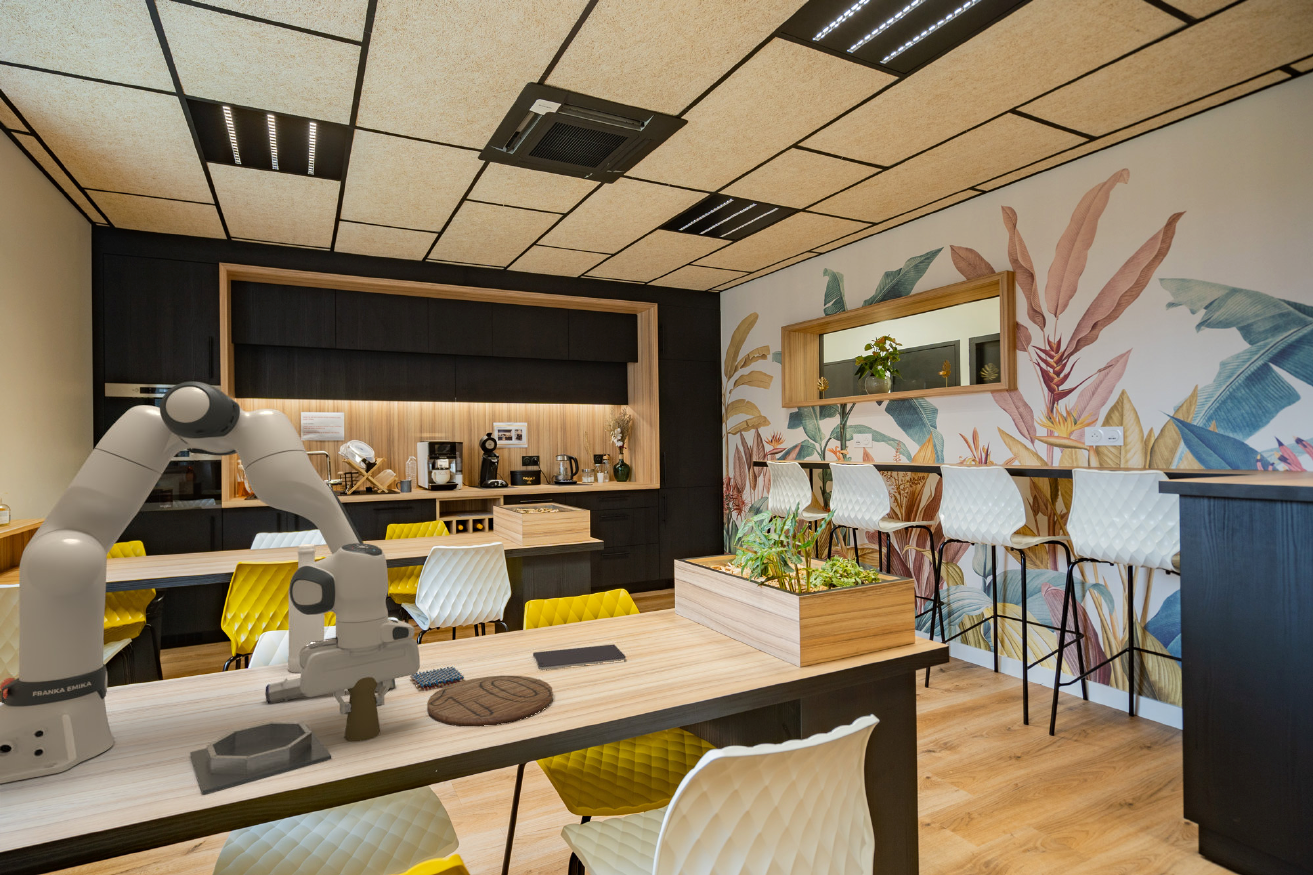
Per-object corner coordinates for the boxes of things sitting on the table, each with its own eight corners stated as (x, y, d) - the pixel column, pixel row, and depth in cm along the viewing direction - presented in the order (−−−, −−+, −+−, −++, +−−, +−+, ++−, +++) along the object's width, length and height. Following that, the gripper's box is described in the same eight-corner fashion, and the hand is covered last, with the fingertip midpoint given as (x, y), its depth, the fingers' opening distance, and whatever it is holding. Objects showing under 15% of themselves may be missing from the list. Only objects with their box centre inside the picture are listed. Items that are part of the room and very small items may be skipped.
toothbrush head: (269, 680, 143) (393, 652, 150) (274, 710, 143) (398, 681, 150) (263, 688, 138) (391, 658, 145) (268, 719, 138) (396, 688, 145)
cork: (343, 744, 118) (343, 681, 118) (344, 731, 123) (344, 671, 124) (380, 737, 120) (380, 676, 121) (380, 725, 126) (379, 667, 126)
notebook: (614, 650, 176) (533, 658, 169) (614, 644, 176) (533, 652, 169) (626, 663, 164) (539, 673, 157) (626, 657, 164) (539, 666, 157)
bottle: (280, 671, 161) (280, 546, 162) (307, 661, 168) (307, 542, 169) (305, 674, 158) (305, 547, 159) (332, 664, 165) (331, 543, 166)
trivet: (471, 740, 120) (471, 729, 120) (404, 707, 136) (404, 697, 137) (577, 701, 138) (577, 692, 138) (507, 676, 155) (507, 668, 155)
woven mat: (454, 673, 159) (453, 664, 159) (467, 685, 150) (467, 676, 150) (408, 681, 153) (408, 672, 153) (419, 694, 144) (419, 685, 144)
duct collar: (202, 794, 101) (202, 774, 101) (190, 755, 114) (190, 737, 114) (331, 758, 112) (331, 740, 112) (305, 727, 126) (305, 710, 126)
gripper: (303, 647, 113) (303, 729, 113) (422, 626, 127) (423, 700, 126) (295, 640, 118) (295, 718, 118) (410, 620, 131) (411, 691, 131)
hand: (362, 709), depth 122 cm, fingers closed on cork, 4 cm apart
